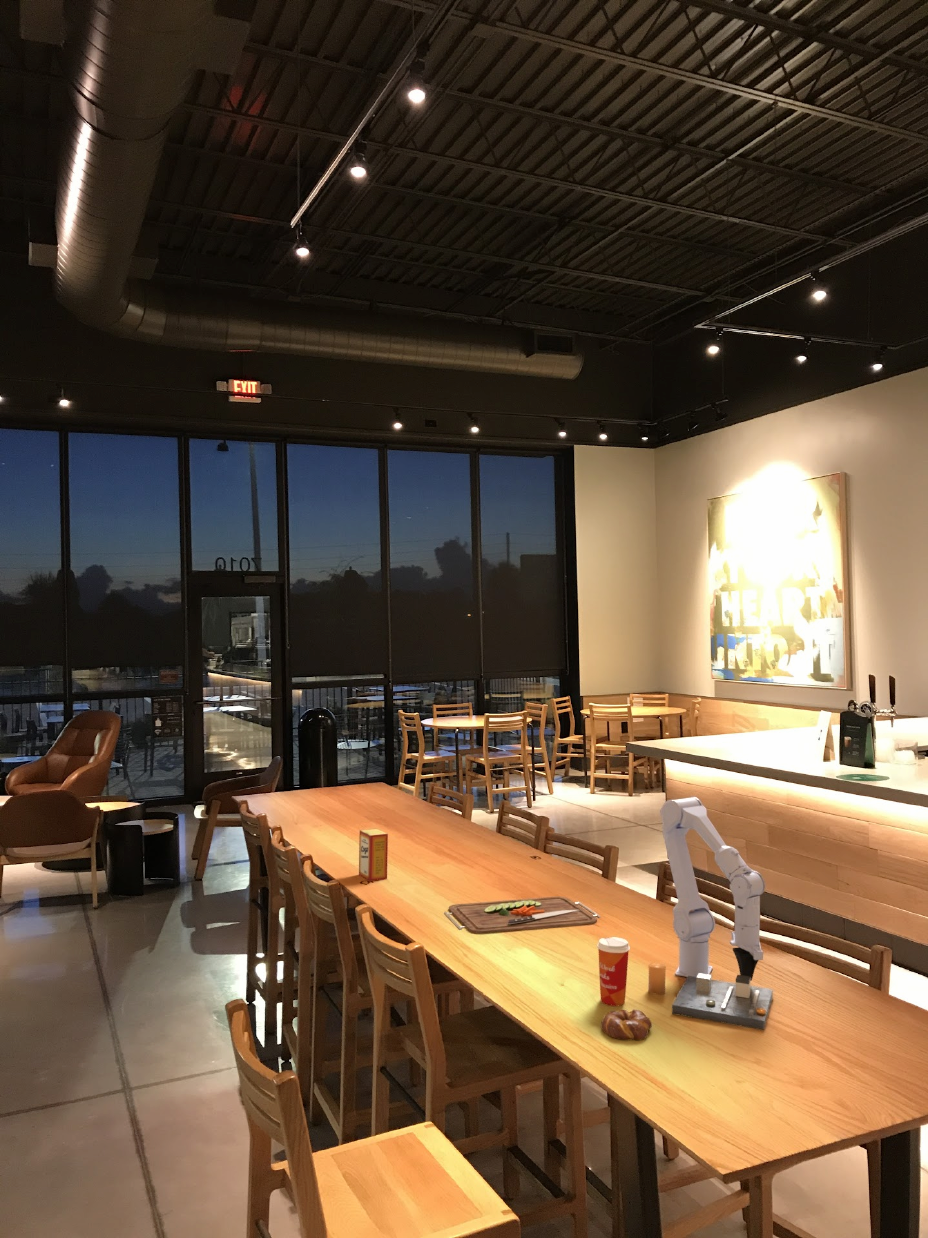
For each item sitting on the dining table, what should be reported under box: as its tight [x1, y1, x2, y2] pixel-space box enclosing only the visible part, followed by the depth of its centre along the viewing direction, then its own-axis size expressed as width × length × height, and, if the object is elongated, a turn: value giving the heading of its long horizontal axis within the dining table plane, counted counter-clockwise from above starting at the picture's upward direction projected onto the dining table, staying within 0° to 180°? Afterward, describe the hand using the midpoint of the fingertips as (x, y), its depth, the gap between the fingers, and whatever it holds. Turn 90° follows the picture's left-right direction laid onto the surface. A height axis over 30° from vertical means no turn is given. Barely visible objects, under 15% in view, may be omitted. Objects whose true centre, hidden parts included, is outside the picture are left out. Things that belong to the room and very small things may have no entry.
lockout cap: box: [647, 962, 666, 995], centre depth 225 cm, size 4×4×6 cm
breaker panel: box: [671, 973, 774, 1031], centre depth 217 cm, size 20×20×5 cm
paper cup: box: [596, 936, 631, 1007], centre depth 219 cm, size 8×8×14 cm
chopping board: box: [443, 896, 602, 935], centre depth 284 cm, size 45×27×3 cm, turn 107°
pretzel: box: [600, 1009, 653, 1041], centre depth 203 cm, size 12×11×4 cm
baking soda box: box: [358, 828, 389, 882], centre depth 325 cm, size 10×6×16 cm
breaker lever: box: [735, 974, 752, 998], centre depth 218 cm, size 3×3×4 cm
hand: (746, 980), depth 224 cm, fingers closed
